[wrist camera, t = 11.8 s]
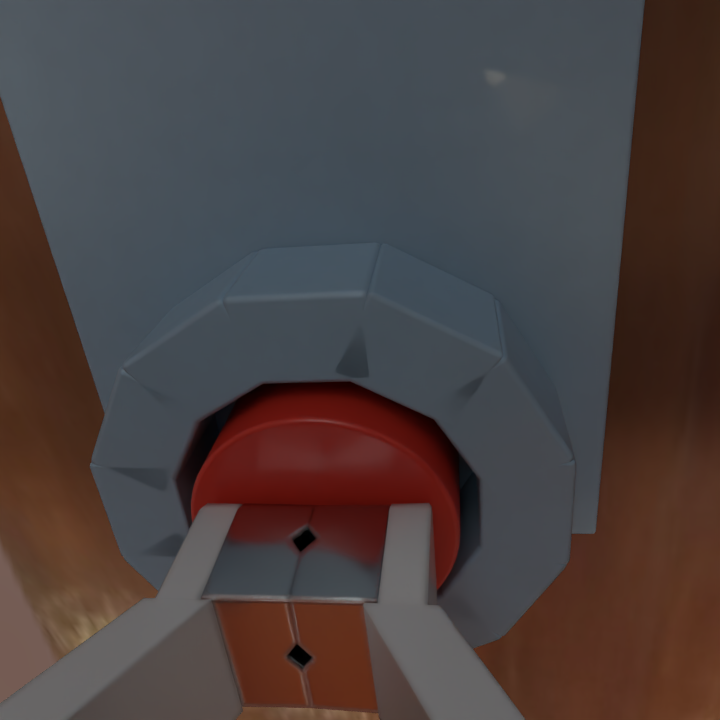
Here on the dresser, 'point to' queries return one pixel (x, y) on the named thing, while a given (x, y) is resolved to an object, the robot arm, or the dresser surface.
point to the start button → (334, 456)
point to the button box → (341, 240)
